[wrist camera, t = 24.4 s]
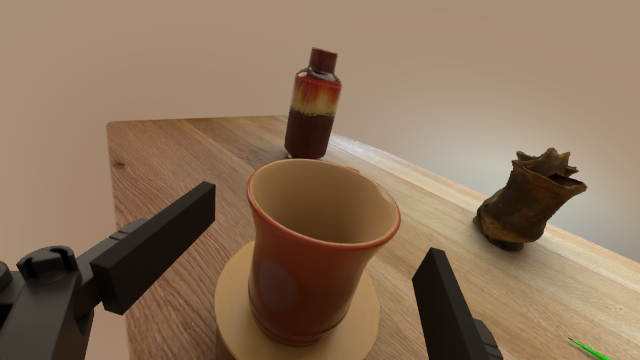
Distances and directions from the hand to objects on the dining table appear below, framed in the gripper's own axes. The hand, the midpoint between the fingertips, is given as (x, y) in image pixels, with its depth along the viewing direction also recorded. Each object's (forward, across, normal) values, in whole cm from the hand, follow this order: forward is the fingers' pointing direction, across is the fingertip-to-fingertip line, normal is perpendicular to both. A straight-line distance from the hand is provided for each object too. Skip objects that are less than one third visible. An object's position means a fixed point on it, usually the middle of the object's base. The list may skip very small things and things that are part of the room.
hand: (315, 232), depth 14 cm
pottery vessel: (+35, +37, -16) cm, 53 cm away
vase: (+47, -9, -16) cm, 50 cm away
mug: (+2, 0, -8) cm, 8 cm away
